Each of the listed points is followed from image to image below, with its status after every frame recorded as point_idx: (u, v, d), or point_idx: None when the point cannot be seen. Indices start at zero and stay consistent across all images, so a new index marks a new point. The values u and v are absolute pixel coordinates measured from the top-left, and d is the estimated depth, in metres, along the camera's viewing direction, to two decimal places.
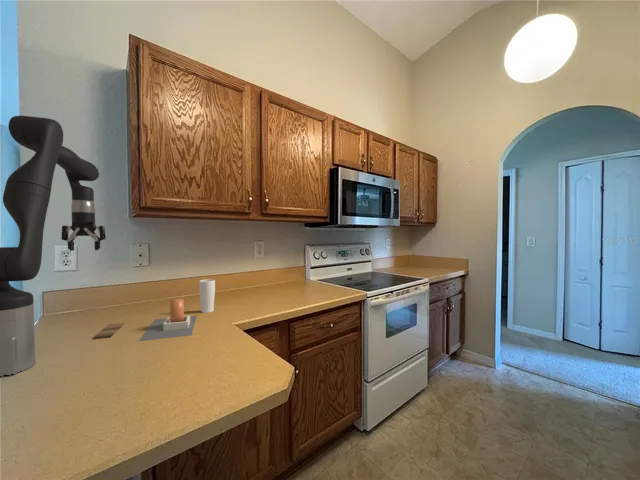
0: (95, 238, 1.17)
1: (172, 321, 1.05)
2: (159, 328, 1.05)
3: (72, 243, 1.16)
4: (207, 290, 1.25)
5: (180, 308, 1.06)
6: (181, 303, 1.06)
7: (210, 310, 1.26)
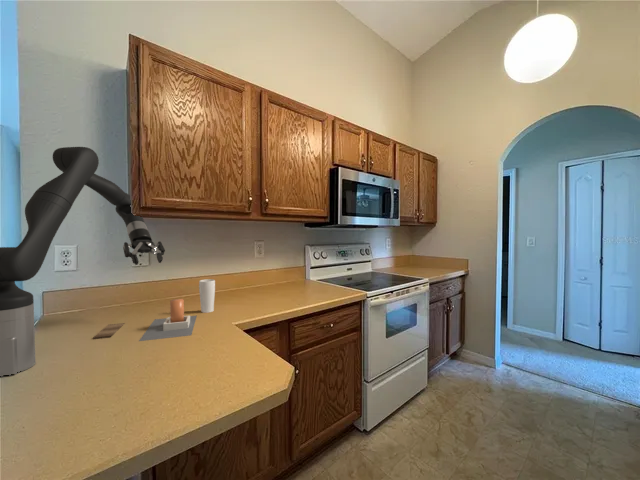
0: (158, 250, 1.18)
1: (172, 321, 1.05)
2: (159, 328, 1.05)
3: None
4: (207, 290, 1.25)
5: (180, 308, 1.06)
6: (181, 303, 1.06)
7: (210, 310, 1.26)
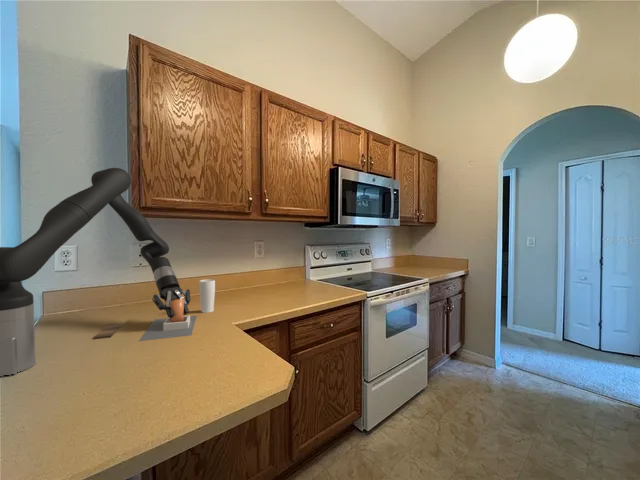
0: None
1: (172, 321, 1.05)
2: (159, 328, 1.05)
3: None
4: (207, 290, 1.25)
5: (180, 308, 1.06)
6: (181, 303, 1.06)
7: (210, 310, 1.26)
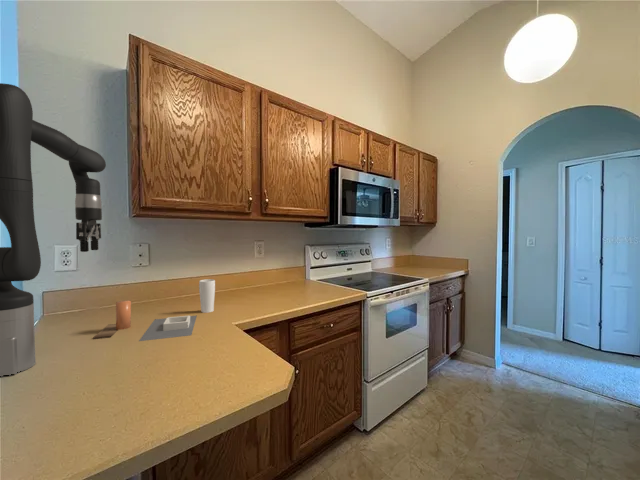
0: (98, 237, 1.08)
1: (117, 323, 1.04)
2: (159, 328, 1.05)
3: None
4: (207, 290, 1.25)
5: (126, 309, 1.05)
6: (128, 304, 1.05)
7: (210, 310, 1.26)
